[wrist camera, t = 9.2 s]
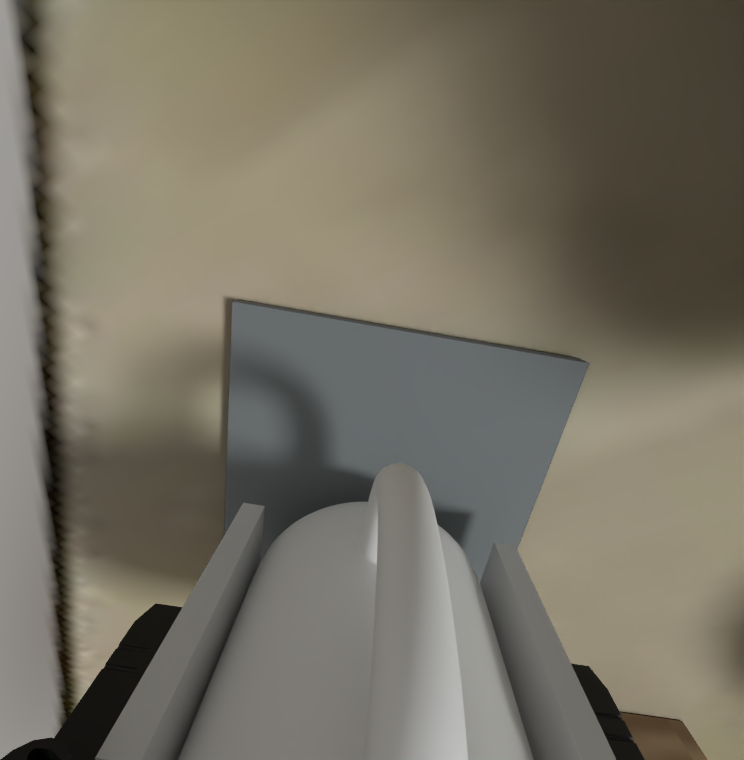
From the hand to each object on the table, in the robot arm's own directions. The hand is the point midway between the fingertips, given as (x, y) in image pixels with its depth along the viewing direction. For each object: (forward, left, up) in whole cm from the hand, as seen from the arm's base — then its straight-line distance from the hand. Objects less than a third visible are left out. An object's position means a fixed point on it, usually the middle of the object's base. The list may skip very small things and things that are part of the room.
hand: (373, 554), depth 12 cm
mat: (0, 0, -2) cm, 2 cm away
